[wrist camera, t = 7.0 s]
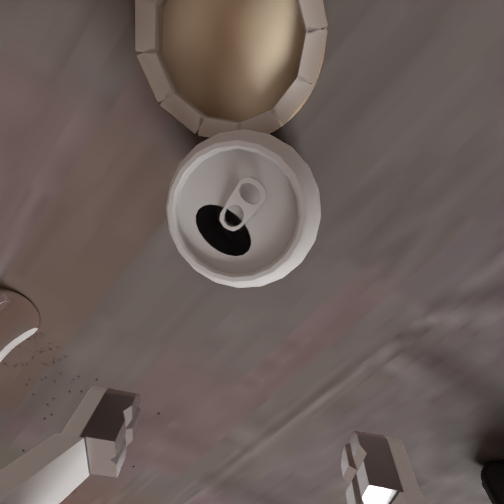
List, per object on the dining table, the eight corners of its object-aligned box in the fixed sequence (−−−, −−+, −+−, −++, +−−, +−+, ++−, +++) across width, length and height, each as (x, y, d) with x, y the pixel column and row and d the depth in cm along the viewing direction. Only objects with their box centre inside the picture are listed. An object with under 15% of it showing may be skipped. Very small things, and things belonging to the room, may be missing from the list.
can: (200, 212, 26) (119, 226, 14) (257, 136, 24) (217, 80, 13) (271, 270, 26) (247, 332, 14) (333, 198, 24) (363, 200, 13)
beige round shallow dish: (347, -55, 19) (357, -74, 16) (300, 152, 24) (303, 159, 22) (146, -93, 19) (128, -118, 16) (144, 124, 24) (131, 128, 22)
